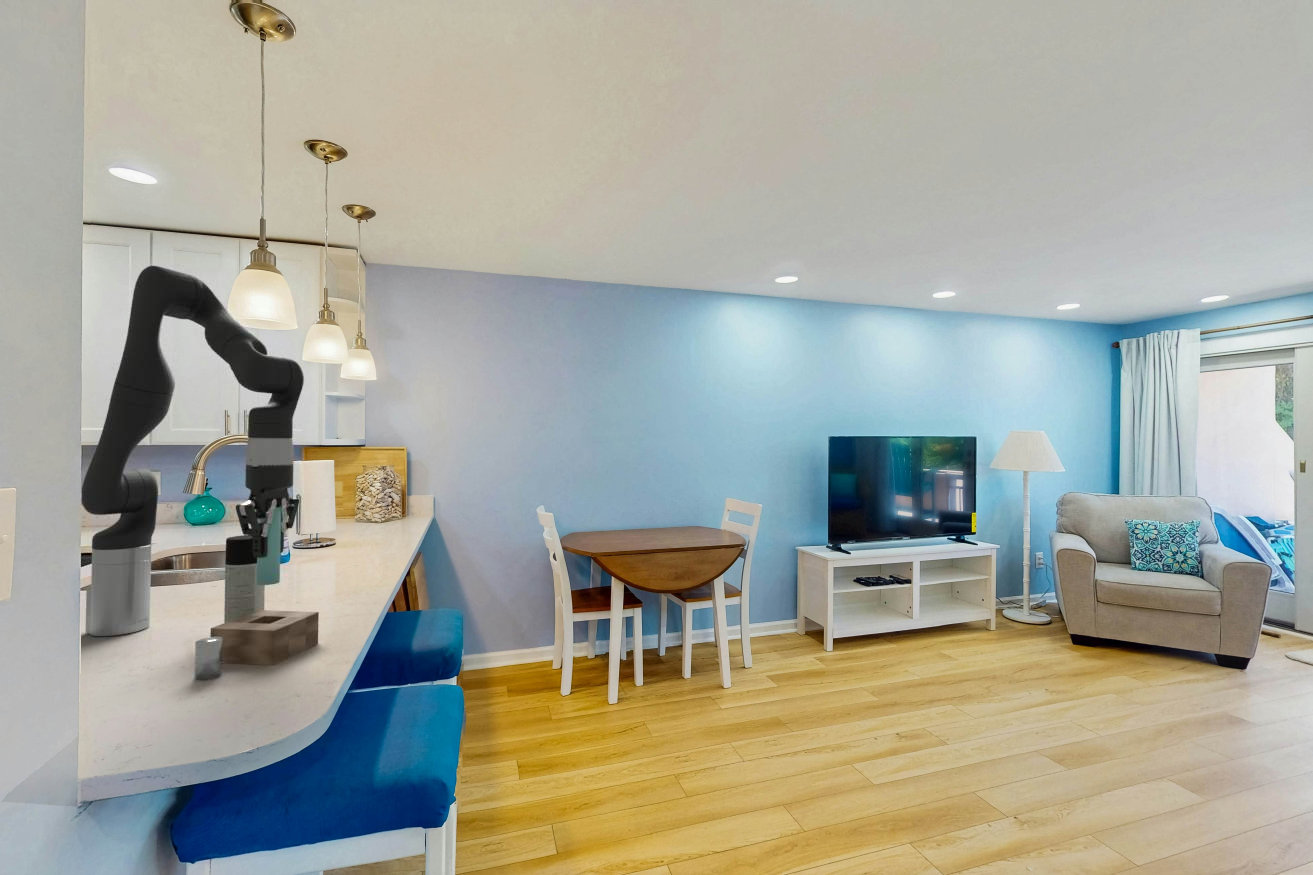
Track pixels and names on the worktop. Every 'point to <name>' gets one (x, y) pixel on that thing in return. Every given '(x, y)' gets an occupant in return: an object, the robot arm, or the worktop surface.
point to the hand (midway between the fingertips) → (268, 554)
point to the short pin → (208, 658)
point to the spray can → (241, 579)
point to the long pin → (271, 553)
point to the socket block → (267, 636)
